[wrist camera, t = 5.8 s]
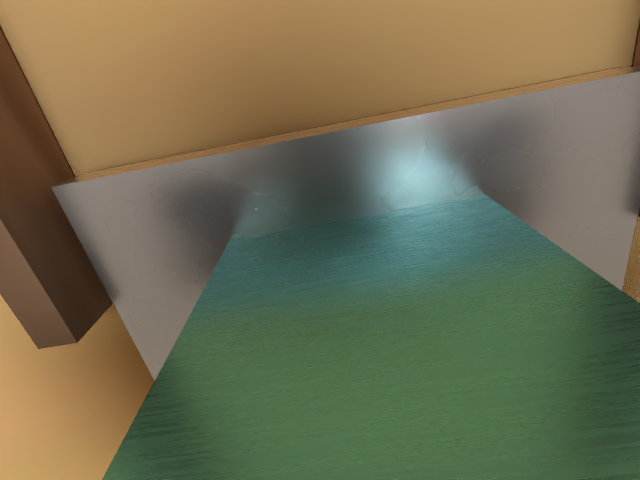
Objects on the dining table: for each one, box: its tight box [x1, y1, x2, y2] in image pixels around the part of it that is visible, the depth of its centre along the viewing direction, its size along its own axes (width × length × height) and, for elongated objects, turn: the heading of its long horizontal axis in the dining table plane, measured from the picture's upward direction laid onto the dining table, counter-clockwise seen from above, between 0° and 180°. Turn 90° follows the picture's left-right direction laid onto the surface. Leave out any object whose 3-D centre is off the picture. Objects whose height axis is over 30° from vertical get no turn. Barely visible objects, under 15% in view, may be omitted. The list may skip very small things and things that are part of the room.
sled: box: [51, 67, 640, 480], centre depth 7 cm, size 13×10×7 cm
